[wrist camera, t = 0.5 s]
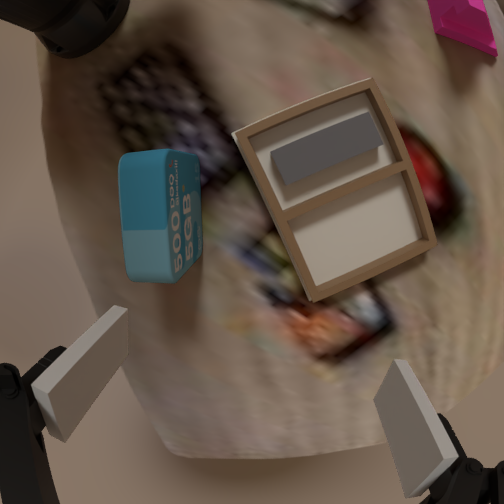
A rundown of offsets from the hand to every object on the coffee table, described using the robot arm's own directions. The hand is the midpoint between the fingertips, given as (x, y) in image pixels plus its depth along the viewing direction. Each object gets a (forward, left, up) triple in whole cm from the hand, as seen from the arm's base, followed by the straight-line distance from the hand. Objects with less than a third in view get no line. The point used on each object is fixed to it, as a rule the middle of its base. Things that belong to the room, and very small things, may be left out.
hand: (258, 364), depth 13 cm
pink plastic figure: (-20, +42, -24) cm, 52 cm away
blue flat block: (-9, -7, -24) cm, 27 cm away
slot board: (-3, +11, -24) cm, 26 cm away
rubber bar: (-8, +11, -23) cm, 26 cm away
